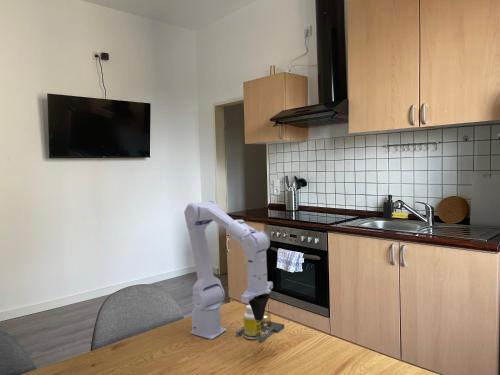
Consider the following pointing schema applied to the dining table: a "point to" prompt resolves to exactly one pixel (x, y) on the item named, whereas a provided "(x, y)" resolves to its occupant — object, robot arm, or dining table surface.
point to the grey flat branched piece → (265, 328)
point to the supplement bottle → (251, 325)
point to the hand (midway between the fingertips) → (258, 319)
